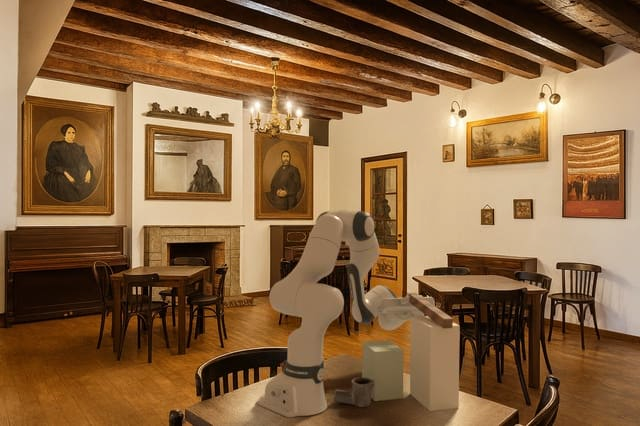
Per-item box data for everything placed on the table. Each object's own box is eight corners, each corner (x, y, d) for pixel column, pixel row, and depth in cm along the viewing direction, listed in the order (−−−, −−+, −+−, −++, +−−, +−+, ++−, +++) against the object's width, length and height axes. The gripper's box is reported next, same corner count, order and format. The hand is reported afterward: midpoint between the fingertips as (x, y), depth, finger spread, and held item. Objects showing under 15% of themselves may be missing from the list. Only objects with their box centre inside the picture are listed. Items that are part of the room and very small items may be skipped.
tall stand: (410, 393, 156) (410, 316, 156) (436, 391, 159) (437, 315, 158) (429, 411, 142) (430, 327, 142) (458, 408, 145) (459, 325, 145)
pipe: (335, 399, 150) (335, 375, 150) (374, 402, 148) (375, 377, 148) (333, 407, 144) (333, 382, 144) (374, 410, 142) (374, 384, 142)
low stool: (362, 387, 161) (362, 341, 161) (388, 385, 164) (389, 340, 164) (374, 401, 150) (374, 351, 150) (402, 398, 152) (403, 349, 152)
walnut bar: (407, 301, 167) (408, 293, 166) (415, 300, 167) (415, 292, 167) (443, 328, 142) (444, 319, 141) (452, 328, 142) (453, 318, 142)
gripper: (373, 302, 175) (386, 289, 163) (423, 301, 180) (438, 288, 168) (376, 319, 172) (389, 307, 160) (426, 317, 177) (442, 305, 165)
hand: (415, 297), depth 164 cm, fingers closed on walnut bar, 3 cm apart
